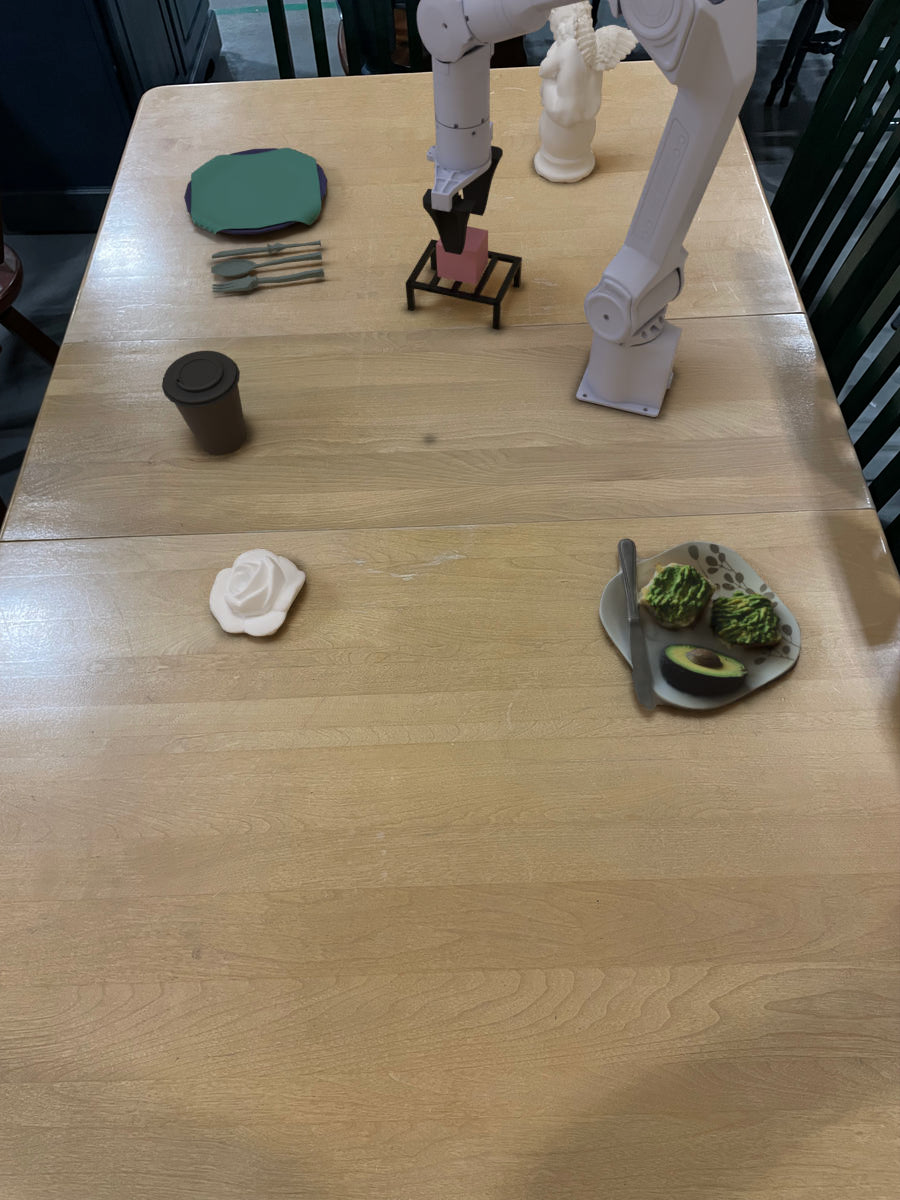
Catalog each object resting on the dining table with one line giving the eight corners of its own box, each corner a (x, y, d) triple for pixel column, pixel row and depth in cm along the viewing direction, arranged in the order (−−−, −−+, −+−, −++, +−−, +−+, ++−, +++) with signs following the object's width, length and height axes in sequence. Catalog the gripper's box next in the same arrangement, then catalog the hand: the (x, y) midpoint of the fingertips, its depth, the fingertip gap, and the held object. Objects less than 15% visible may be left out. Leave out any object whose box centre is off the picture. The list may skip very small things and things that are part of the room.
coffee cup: (173, 453, 95) (142, 387, 86) (210, 404, 99) (184, 335, 90) (236, 473, 93) (211, 407, 84) (271, 421, 97) (251, 354, 88)
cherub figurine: (537, 142, 125) (547, -31, 106) (622, 146, 124) (647, -28, 105) (529, 191, 118) (539, 16, 100) (619, 196, 117) (645, 20, 99)
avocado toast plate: (549, 580, 84) (553, 553, 80) (700, 514, 88) (710, 485, 84) (658, 743, 75) (668, 722, 71) (821, 662, 78) (839, 637, 75)
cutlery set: (324, 153, 125) (321, 137, 123) (341, 283, 109) (338, 267, 107) (188, 169, 124) (184, 153, 122) (186, 302, 108) (180, 287, 106)
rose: (316, 597, 79) (215, 635, 77) (323, 621, 83) (227, 658, 81) (284, 519, 84) (188, 553, 82) (292, 545, 87) (201, 578, 86)
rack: (520, 284, 108) (522, 257, 105) (498, 330, 104) (499, 303, 100) (432, 266, 111) (431, 238, 107) (407, 310, 106) (405, 283, 103)
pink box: (488, 262, 104) (488, 230, 100) (476, 285, 102) (476, 252, 98) (450, 255, 105) (448, 222, 102) (437, 277, 103) (435, 244, 99)
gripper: (449, 73, 92) (453, 190, 104) (400, 145, 85) (410, 263, 97) (511, 83, 91) (508, 200, 102) (466, 157, 84) (468, 274, 95)
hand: (464, 231), depth 99 cm, fingers open, 7 cm apart
